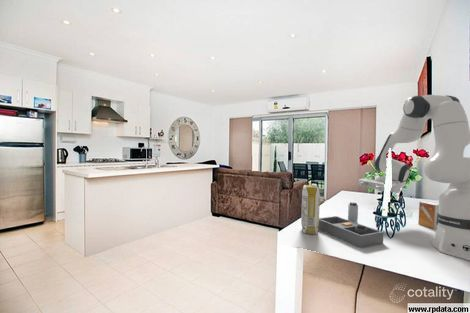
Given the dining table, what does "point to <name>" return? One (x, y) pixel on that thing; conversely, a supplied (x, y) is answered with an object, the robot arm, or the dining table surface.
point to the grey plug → (353, 212)
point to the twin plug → (360, 230)
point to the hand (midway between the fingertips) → (368, 186)
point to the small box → (428, 214)
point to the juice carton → (310, 209)
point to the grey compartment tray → (350, 231)
